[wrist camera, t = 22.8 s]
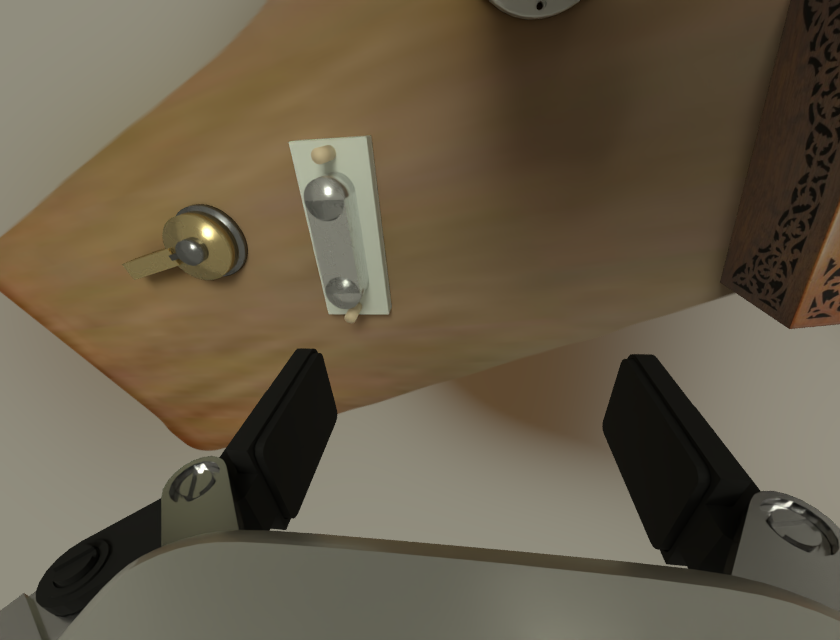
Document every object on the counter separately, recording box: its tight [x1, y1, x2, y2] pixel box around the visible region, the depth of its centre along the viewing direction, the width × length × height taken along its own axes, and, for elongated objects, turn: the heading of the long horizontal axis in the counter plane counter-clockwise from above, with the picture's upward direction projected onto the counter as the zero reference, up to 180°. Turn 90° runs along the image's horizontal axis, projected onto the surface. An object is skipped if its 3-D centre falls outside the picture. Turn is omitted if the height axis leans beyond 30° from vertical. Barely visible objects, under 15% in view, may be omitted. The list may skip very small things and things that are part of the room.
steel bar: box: [304, 172, 369, 309], centre depth 37 cm, size 4×14×4 cm, turn 4°
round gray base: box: [176, 204, 248, 276], centre depth 43 cm, size 9×9×1 cm
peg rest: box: [289, 135, 392, 323], centre depth 38 cm, size 20×8×5 cm, turn 3°
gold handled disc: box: [122, 211, 239, 280], centre depth 41 cm, size 15×8×3 cm, turn 108°
